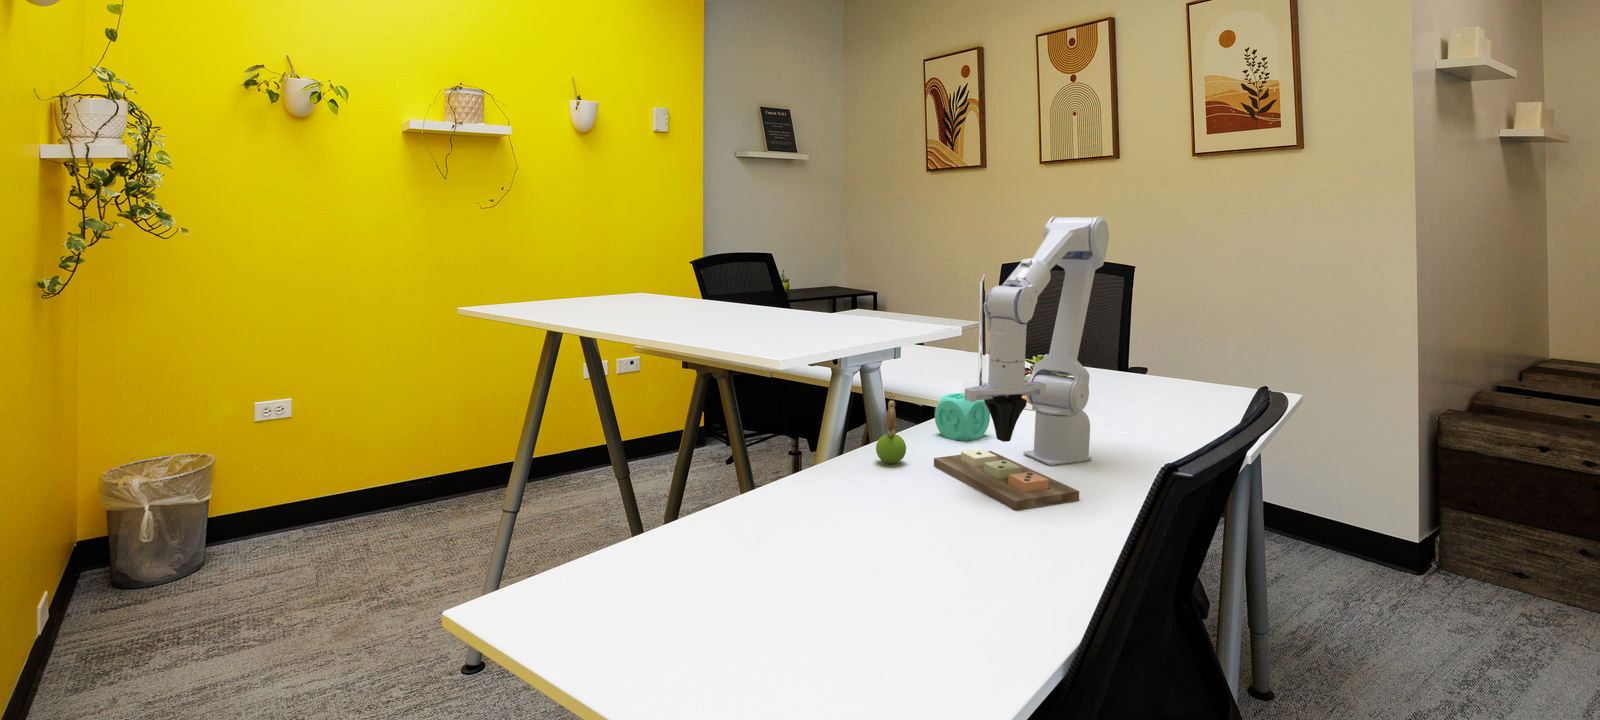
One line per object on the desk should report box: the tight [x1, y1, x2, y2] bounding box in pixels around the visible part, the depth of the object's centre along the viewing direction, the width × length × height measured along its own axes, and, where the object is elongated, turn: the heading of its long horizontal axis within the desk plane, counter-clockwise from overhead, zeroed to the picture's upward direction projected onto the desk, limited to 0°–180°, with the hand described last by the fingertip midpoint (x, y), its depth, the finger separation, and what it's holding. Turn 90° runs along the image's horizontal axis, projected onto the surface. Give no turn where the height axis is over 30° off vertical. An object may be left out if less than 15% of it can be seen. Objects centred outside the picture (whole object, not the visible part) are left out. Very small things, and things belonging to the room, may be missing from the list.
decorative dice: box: [934, 392, 991, 441], centre depth 167 cm, size 8×8×8 cm
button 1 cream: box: [960, 448, 997, 468], centre depth 144 cm, size 4×4×2 cm
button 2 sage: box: [983, 460, 1021, 480], centre depth 138 cm, size 4×4×2 cm
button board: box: [933, 450, 1080, 511], centre depth 138 cm, size 12×24×2 cm, turn 21°
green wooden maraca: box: [875, 393, 907, 465], centre depth 149 cm, size 5×6×12 cm
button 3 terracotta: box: [1008, 472, 1049, 493], centre depth 132 cm, size 4×4×2 cm
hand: (1003, 440), depth 137 cm, fingers closed
